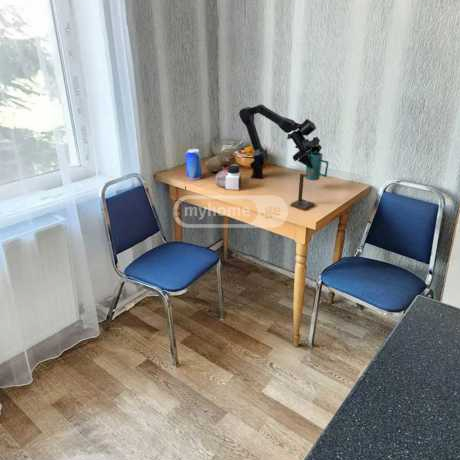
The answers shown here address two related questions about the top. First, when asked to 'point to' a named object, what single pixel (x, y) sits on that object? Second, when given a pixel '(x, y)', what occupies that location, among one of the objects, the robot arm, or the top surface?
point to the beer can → (193, 164)
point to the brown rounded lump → (216, 163)
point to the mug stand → (300, 202)
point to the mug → (316, 165)
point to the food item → (222, 177)
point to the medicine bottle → (233, 178)
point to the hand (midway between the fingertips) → (316, 166)
